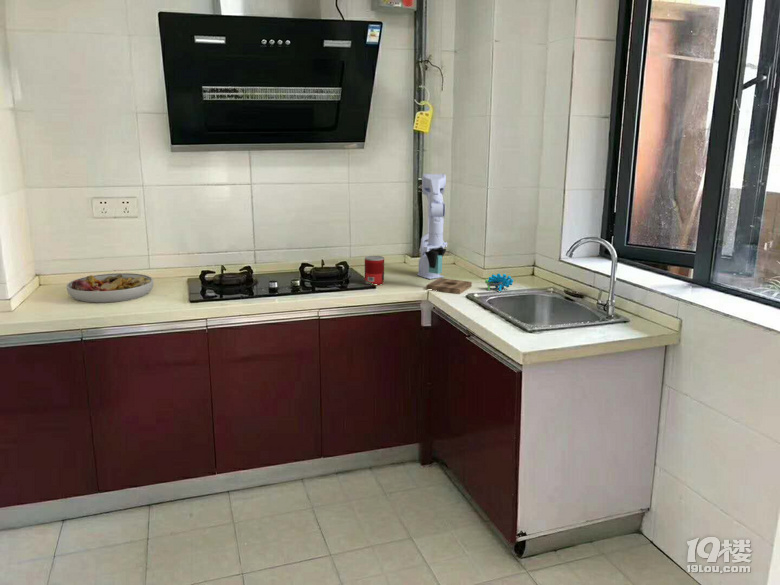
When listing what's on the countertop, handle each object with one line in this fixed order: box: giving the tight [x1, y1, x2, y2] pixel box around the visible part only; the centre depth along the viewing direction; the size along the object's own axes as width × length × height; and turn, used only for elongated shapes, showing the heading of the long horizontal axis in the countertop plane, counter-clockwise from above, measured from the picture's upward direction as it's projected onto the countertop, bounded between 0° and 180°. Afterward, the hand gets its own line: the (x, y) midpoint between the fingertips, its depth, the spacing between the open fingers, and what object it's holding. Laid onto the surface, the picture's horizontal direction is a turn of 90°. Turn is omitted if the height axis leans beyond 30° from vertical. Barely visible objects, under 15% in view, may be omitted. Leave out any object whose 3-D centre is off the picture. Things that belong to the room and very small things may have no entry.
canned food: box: [364, 255, 385, 286], centre depth 264 cm, size 8×8×11 cm
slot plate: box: [426, 277, 473, 295], centre depth 259 cm, size 14×14×2 cm
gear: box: [484, 273, 514, 292], centre depth 256 cm, size 11×6×10 cm
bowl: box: [66, 272, 154, 304], centre depth 242 cm, size 30×30×8 cm
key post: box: [429, 254, 443, 274], centre depth 257 cm, size 4×3×8 cm
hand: (434, 267), depth 258 cm, fingers closed on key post, 3 cm apart
